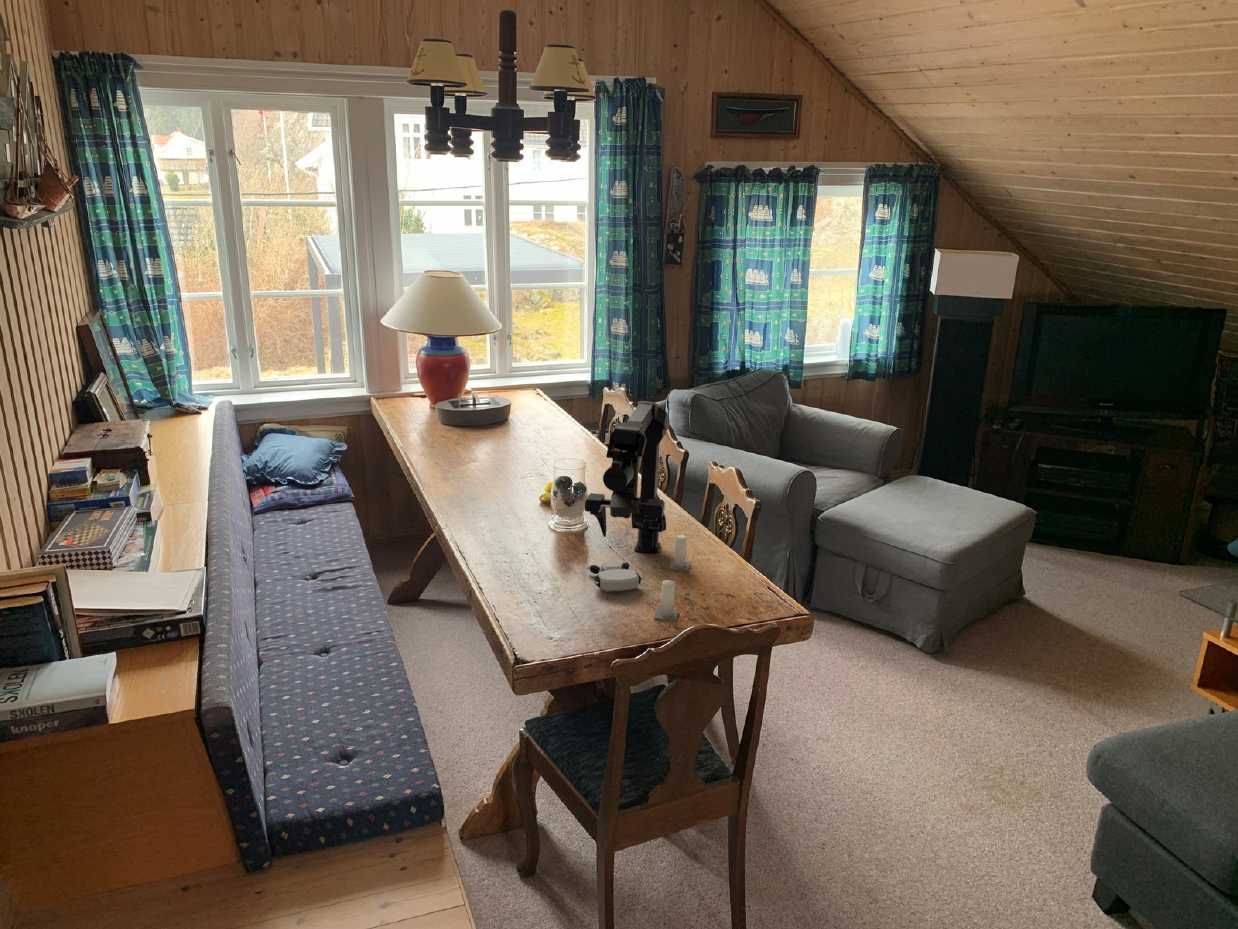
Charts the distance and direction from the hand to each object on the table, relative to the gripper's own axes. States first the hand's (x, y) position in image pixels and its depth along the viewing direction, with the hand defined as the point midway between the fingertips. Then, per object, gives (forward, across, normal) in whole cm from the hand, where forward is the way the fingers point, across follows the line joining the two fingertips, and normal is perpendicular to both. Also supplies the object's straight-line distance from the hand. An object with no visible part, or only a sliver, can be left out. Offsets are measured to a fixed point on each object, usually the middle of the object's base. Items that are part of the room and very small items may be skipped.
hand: (623, 538), depth 216 cm
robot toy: (+15, -2, +4) cm, 15 cm away
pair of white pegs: (+14, +13, +3) cm, 19 cm away
